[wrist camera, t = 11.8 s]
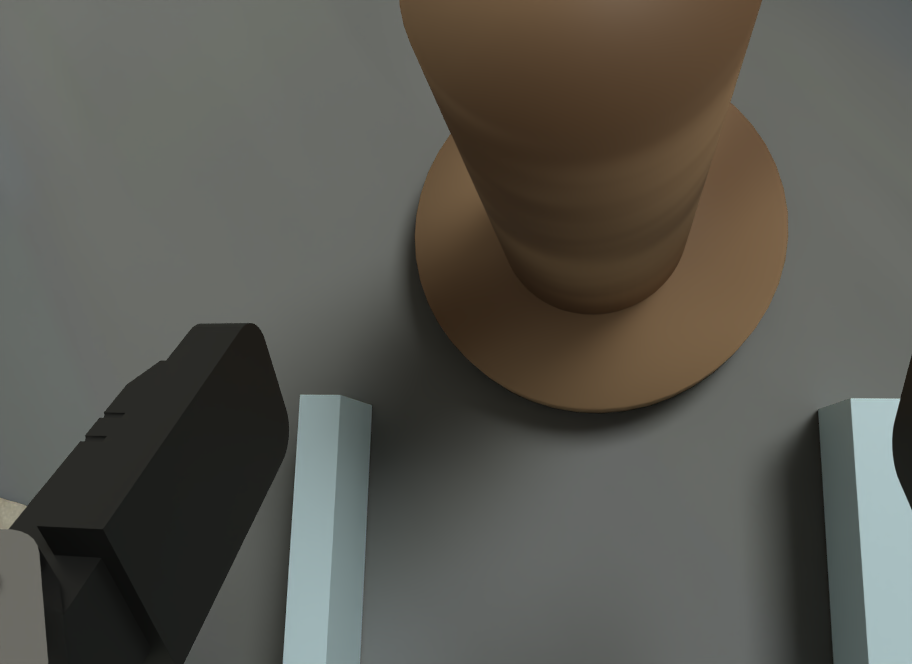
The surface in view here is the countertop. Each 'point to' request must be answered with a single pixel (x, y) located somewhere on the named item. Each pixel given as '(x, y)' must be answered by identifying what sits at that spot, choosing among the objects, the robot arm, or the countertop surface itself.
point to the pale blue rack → (845, 507)
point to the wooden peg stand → (595, 194)
